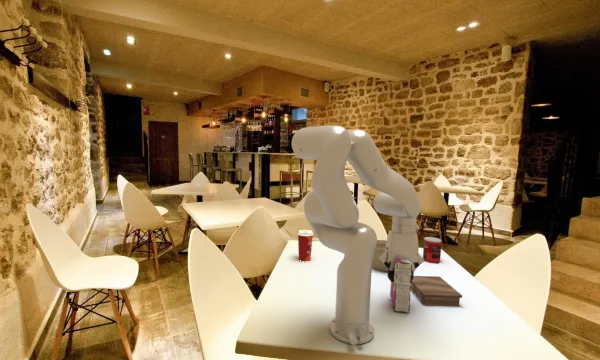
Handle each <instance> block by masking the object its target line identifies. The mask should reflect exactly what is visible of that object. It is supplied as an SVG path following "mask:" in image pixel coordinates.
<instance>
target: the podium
mask: <svg viewBox="0 0 600 360" xmlns="http://www.w3.org/2000/svg"><path fill="white" fill-rule="evenodd" d="M411 292H412V293H413V294H414V296H416V298H418V299H419V301H420V302H421V303H422V304H423V306H434V307H435V306H439V307H441V306H443V307H447V306H448V307H460V301H461V299H462V298H463V294H461V293H460V292H459V291H458V290H456V289H455V288H454V287H453V286H452V285H450V284H449V283H448V282H447V281H445V279H443V278H442V277H441V276H436V275H434V276H431V275H430V276H429V275H413V279H412V283H411ZM460 298H461V299H460Z"/></svg>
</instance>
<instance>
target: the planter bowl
mask: <svg viewBox="0 0 600 360" xmlns="http://www.w3.org/2000/svg"><path fill="white" fill-rule="evenodd" d="M386 242H387V239H386V240H384V239H383V240H382V239H377V244H376V249H375V252H374V257H373V262H372V268H374V269H375V270H379V271H382V272H388V268H387V267H386V265H385V264H384V263H383V262H382V261H380V259H379V257H380V256H381V255H382V254H383V253H384V252H385V248H386ZM385 260H386V261H387V262H389V260H388V258H385Z"/></svg>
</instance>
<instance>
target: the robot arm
mask: <svg viewBox="0 0 600 360" xmlns="http://www.w3.org/2000/svg"><path fill="white" fill-rule="evenodd" d="M291 138H292V139H291V149H292V150H293V153H294V154H295V155H296V156H297V157H298V158H299V159H302V160H308V161H316V163H315V166H314V169H313V172H312V175H311V180H310V181H311V183H310V184H311V188H312V191H310V192H309V193H308V195H307V196H306V197H305V200H304V204H303V210H304V211H303V212H304V216H305V218H306V220H307V222H308V223H309V226H310V227H311V229H312V232H313V233H314V234H315V236H316V238H317V239H318V241H319V242H320V244H322V245H323V246H324V247H325V248H328V249H331V250H334V251H336V252H338V253H341V254H343V255H344V256H343V259H342V260H341V261H340V262H339V264H338V266H337V270H336V271H337V272H336V294H335V295H336V296H335V318H333V319H332V320H331V321H330V323H329V331H330V333H331V335H332V336H333V337H334V338H335V339H337V340H338V341H341V342H342V343H346V344H349V345H350V344H351V345H352V346H355V345H362V344H363V345H364V344H366V343H368V342H370V341H372V340H373V338H374V336H375V328H374V326H373V325H372V324H371V322H370V312H371V311H370V308H371V293H372V292H371V287H372V270H373V264H372V262H373V257H374V252H375V249H376V244H377V240H378V236H377V233H376V231H375V230H374V229H373V228H372V227H371V226H370V225H368V224H366V223H364V222H359V218H360V212H359V208H358V205H357V203H356V201H355V197H354V196H353V194H352V192H351V190H350V187H349V185H348V182H347V181H346V177H345V167H346V164H347V162H348V163H349V164H350V166H351V167H352V169H353V171H354V172H355V173H356V175H357V177H358V178H359V180H360V182H362V183H363V184H364V185H366V186H368V187H369V188H370V189H373V190H375V191H377V192H378V193H377V194H376V195H375V196H374V198H373V201H372V204H373V208H374V210H375V211H376V212H378V214H380V215H384V216H391V217H392V219H391V230H389V231H388V234H387V237H386V238H387V239H386V241H387V242H386V248H385V252H384V253H383V254H382V255H381V256H380V257H379V259H380V261H382V262H383V263H384V264H385V265H386V267H387V268H388V271H387V279H388V280H389V282H390V283H391V282H394V270H393V268H394V265H395V260H396V259H409V260H410V261H411V263H412V274H411V283H412V279H413V276H415V275H414V274H415V271H416V269H417V268H419V267H420V265H422V264H423V263H424V262H425V261H424V259H423V256H421V255H420V253H419V251H420V249H419V238H418V233H417V230H420V225H417V217H418V216H419V214H420V213H421V207H422V205H421V204H422V203H421V200H420V197H419V195H418V192H417V191H416V188H415V187H414V185H413V184H412V183H411V182H410V181H409V180H408V179H407V178H405V177H404V176H403V175H401V174H400V173H398V172H397V171H396V170H394V169H392V168H391V167H390V166H388V165H387V164H386V162H385V160H384V157H383V156H382V155H381V152H380V151H379V149H378V147H377V145H376V143H375V142H374V140H373V138H372V136H371V135H370V134H369V133H368V132H367V131H365V130H363V129H347V128H345V127H343V126H341V125H331V124H330V125H320V126H318V125H317V126H308V127H302V128H300V129H299V130H297V131H296V132H295V133H294V134H293V136H292V137H291ZM385 258H388V260H389V262H387V261H386V260H385Z"/></svg>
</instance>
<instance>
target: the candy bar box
mask: <svg viewBox="0 0 600 360" xmlns="http://www.w3.org/2000/svg"><path fill="white" fill-rule="evenodd" d="M393 270H394V282H391V281H390V288H389V290H390V291H389V297H390V300H391V303H392V306H393V308H394V310H393V311H396V312H400V313H401V312H402V313H403V312H404V313H410V309H411V308H410V305H411V292H412V290H411V274H412V263H411V261H410V260H409V259H396V260H395V265H394V268H393Z"/></svg>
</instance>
